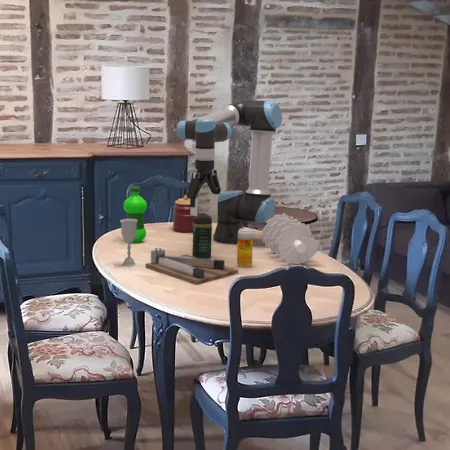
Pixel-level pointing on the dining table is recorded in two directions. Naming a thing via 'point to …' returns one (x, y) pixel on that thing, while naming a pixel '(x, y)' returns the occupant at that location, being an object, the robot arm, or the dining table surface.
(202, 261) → the arm
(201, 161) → the robot arm
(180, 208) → the canister
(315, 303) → the dining table surface
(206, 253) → the coffee jar
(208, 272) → the cutting board
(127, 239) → the chalice
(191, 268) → the grey l-shaped bar
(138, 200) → the plastic bottle
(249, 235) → the beer can
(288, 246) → the spiral staircase
